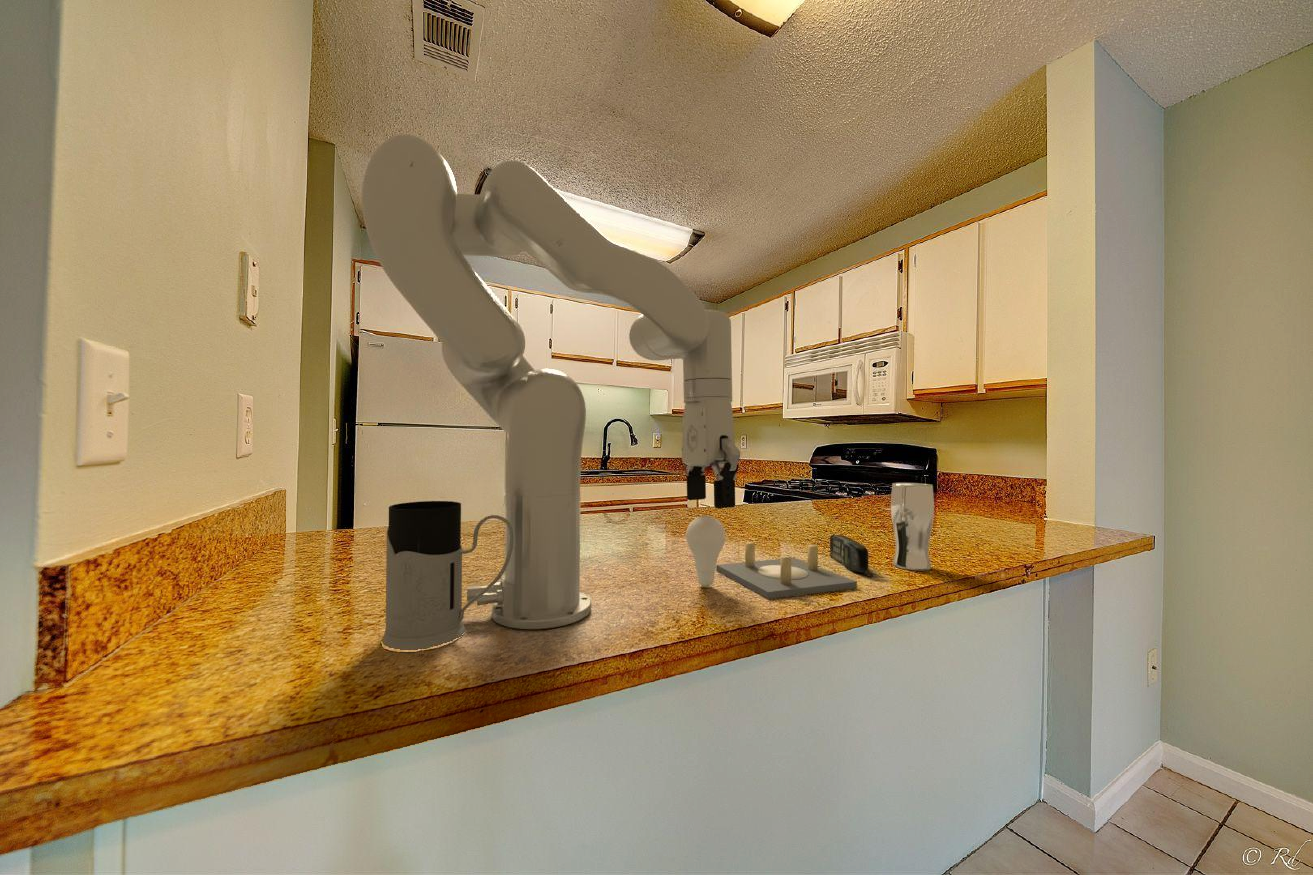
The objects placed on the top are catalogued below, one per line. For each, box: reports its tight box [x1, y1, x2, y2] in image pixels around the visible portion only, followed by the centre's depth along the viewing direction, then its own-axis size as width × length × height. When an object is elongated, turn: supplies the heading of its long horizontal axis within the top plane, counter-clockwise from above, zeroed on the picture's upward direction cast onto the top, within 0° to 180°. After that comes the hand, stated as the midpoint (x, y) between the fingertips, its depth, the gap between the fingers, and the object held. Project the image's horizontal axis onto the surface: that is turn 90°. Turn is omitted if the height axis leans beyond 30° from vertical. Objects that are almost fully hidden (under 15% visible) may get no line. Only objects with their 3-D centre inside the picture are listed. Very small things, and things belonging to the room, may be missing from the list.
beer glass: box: [890, 482, 935, 572], centre depth 87 cm, size 7×7×15 cm
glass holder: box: [381, 500, 514, 650], centre depth 55 cm, size 9×14×15 cm, turn 95°
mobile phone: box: [829, 534, 875, 578], centre depth 87 cm, size 5×3×15 cm
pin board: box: [715, 541, 858, 600], centre depth 79 cm, size 16×16×5 cm
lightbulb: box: [685, 515, 727, 588], centre depth 74 cm, size 6×6×11 cm
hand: (709, 503), depth 75 cm, fingers open, 9 cm apart
